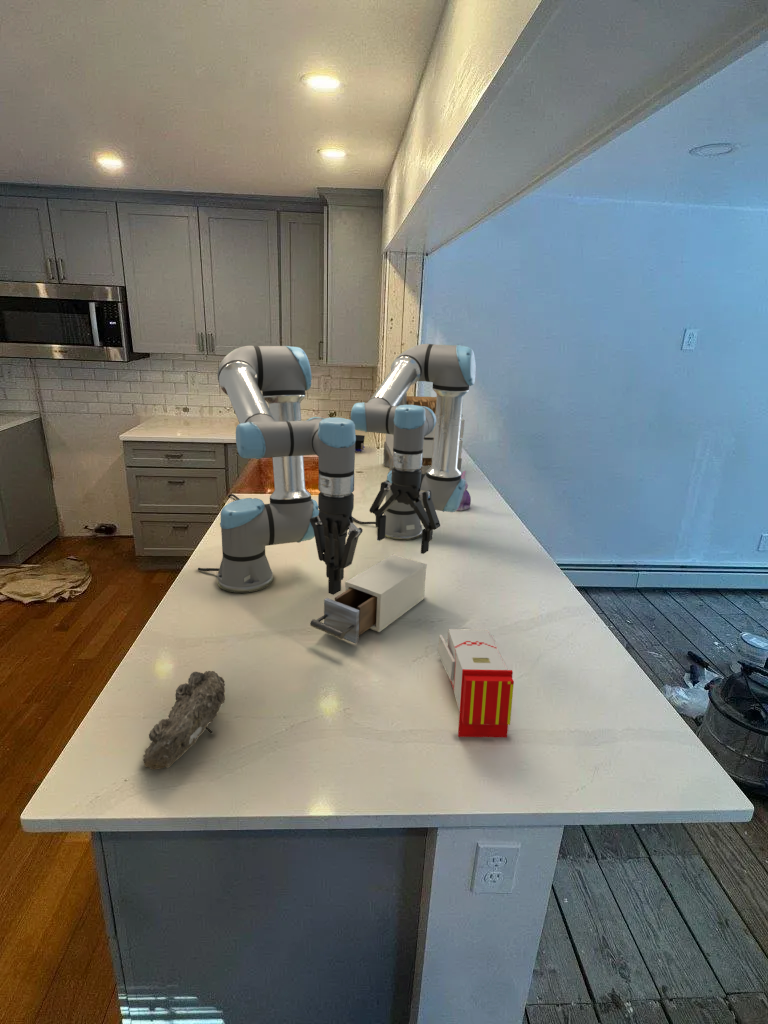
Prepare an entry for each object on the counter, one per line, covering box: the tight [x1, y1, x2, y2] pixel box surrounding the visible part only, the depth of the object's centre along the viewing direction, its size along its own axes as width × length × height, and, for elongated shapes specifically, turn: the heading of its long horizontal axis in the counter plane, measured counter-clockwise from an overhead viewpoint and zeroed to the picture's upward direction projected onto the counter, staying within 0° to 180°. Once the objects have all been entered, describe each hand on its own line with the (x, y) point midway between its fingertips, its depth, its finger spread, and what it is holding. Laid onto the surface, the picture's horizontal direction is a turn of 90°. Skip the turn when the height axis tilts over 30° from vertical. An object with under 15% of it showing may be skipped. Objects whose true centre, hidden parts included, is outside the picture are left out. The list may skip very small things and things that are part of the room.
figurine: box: [456, 470, 472, 511], centre depth 227 cm, size 9×10×15 cm
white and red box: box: [437, 628, 515, 738], centre depth 117 cm, size 12×13×30 cm
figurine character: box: [355, 434, 365, 454], centre depth 311 cm, size 7×8×15 cm
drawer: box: [309, 588, 377, 645], centre depth 139 cm, size 26×10×8 cm, turn 146°
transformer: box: [383, 392, 465, 473], centre depth 268 cm, size 34×33×41 cm
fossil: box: [142, 670, 226, 771], centre depth 103 cm, size 22×10×15 cm
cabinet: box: [344, 553, 427, 633], centre depth 148 cm, size 22×11×10 cm, turn 146°
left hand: (334, 591), depth 128 cm, fingers closed
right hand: (402, 545), depth 150 cm, fingers open, 13 cm apart
